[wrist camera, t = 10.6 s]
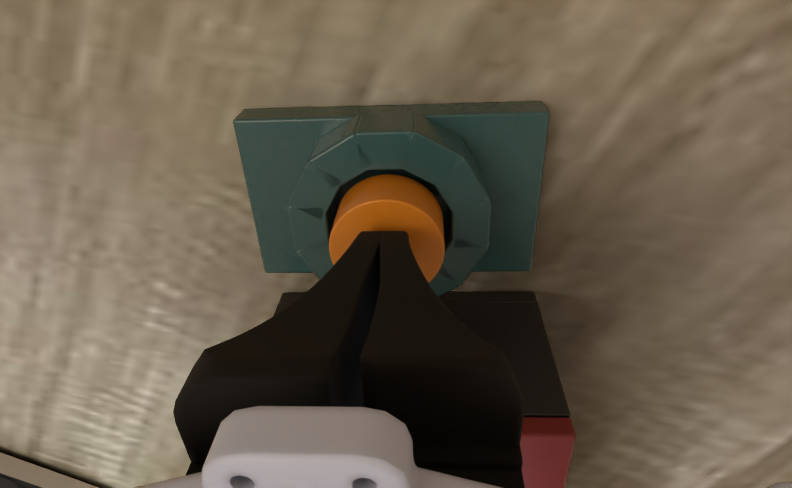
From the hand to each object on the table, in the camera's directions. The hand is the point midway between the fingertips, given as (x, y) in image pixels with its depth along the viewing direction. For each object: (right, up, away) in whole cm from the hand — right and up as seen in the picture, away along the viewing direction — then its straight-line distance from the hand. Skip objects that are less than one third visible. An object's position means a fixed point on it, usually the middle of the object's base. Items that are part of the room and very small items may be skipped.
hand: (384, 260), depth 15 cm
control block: (0, +3, +4) cm, 5 cm away
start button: (0, +1, +2) cm, 2 cm away
